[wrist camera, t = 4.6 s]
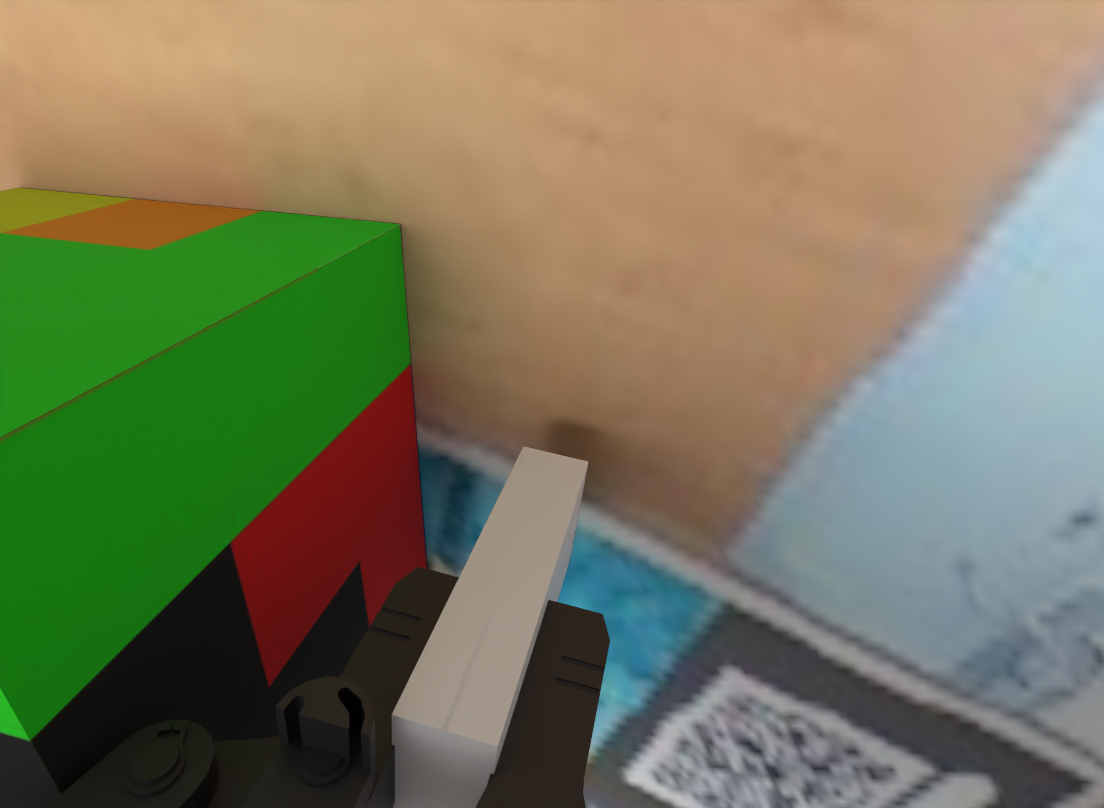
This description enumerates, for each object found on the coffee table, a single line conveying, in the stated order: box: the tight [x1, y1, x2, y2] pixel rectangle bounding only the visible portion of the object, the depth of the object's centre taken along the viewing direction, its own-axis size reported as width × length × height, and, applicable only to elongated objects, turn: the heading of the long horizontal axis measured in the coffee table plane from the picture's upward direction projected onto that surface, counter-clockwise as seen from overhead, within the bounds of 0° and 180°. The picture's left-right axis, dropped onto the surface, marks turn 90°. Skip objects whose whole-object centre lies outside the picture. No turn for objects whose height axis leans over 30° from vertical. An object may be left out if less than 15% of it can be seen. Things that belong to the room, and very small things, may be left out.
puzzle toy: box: [0, 188, 427, 808], centre depth 13 cm, size 10×10×10 cm
